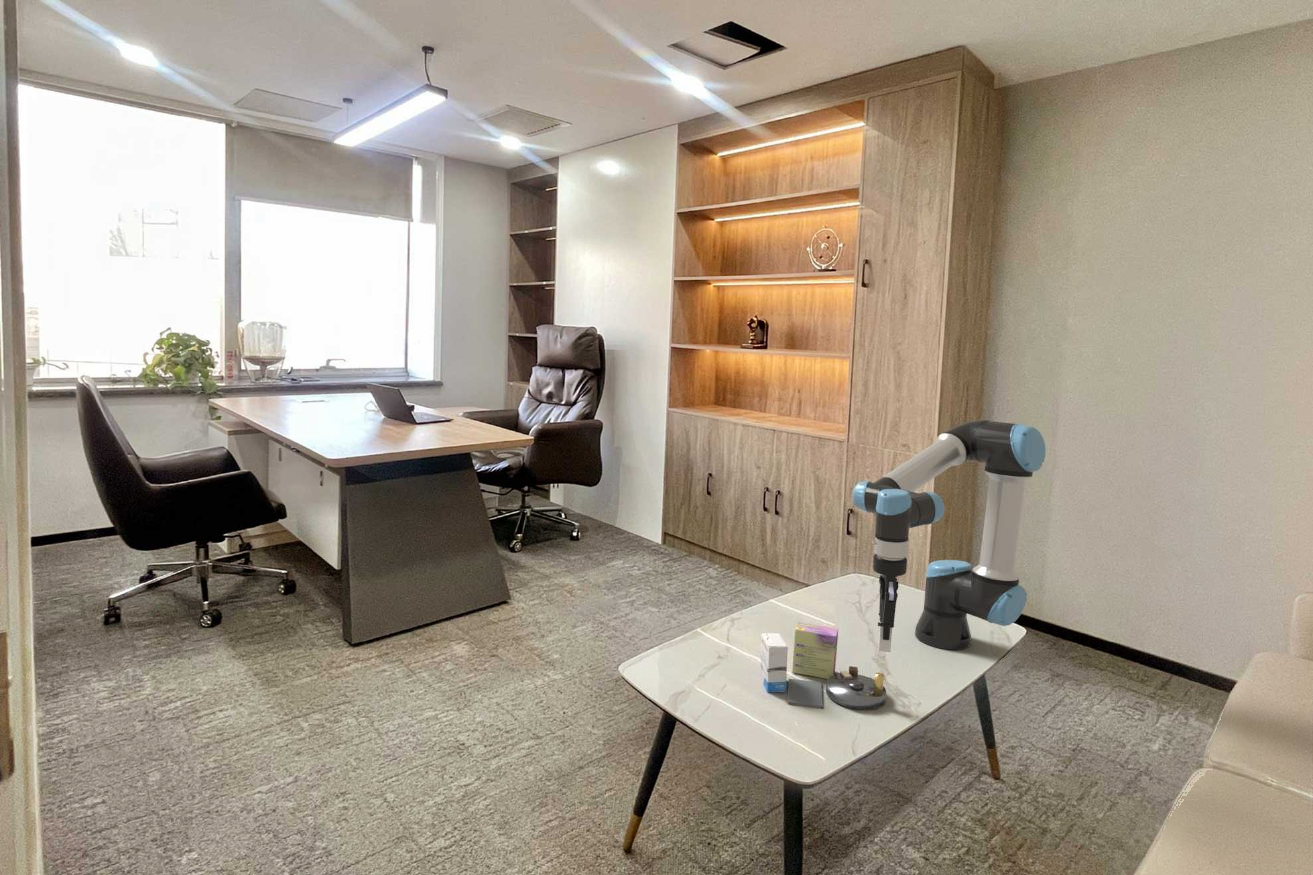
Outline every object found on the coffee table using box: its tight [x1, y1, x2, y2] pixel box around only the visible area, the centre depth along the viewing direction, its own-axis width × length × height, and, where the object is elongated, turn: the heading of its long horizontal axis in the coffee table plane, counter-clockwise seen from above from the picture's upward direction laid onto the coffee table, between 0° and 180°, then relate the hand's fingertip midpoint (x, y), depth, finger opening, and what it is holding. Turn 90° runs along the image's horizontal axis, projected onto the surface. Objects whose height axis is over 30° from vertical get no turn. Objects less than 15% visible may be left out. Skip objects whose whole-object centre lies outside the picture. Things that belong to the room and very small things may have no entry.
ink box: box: [759, 632, 789, 693], centre depth 182 cm, size 9×5×12 cm, turn 5°
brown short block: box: [848, 665, 859, 675], centre depth 186 cm, size 2×2×3 cm
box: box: [791, 621, 839, 680], centre depth 189 cm, size 10×6×12 cm, turn 71°
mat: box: [787, 678, 824, 709], centre depth 178 cm, size 8×12×1 cm, turn 169°
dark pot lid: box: [825, 670, 887, 710], centre depth 178 cm, size 14×14×7 cm
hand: (884, 650), depth 176 cm, fingers closed
